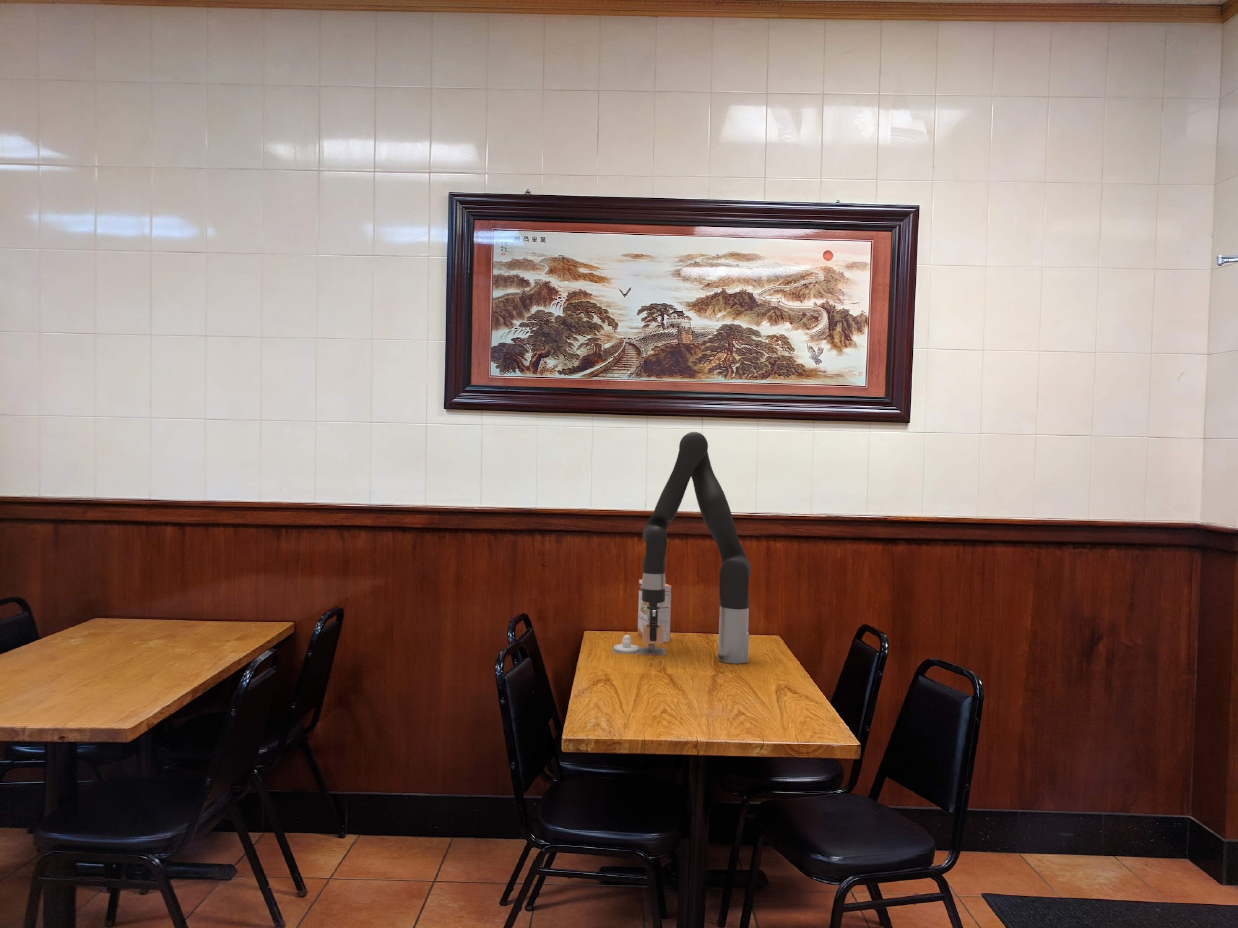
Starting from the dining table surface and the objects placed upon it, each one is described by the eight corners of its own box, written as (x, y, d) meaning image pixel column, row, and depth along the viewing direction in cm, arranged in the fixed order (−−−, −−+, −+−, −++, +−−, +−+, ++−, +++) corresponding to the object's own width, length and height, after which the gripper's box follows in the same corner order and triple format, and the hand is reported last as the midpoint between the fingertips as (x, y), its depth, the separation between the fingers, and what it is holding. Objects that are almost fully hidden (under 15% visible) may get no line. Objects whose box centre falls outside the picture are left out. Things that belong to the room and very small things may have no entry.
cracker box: (636, 637, 288) (638, 578, 287) (651, 636, 290) (653, 578, 290) (654, 647, 275) (656, 585, 274) (670, 645, 277) (672, 584, 277)
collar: (662, 639, 266) (662, 624, 266) (663, 643, 260) (663, 628, 260) (642, 638, 266) (642, 623, 266) (643, 643, 260) (643, 627, 260)
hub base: (664, 652, 268) (665, 633, 268) (665, 659, 259) (666, 639, 259) (612, 650, 268) (613, 631, 268) (612, 657, 259) (612, 637, 259)
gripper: (666, 590, 256) (665, 643, 256) (664, 583, 270) (663, 633, 270) (642, 590, 256) (641, 643, 256) (641, 582, 270) (640, 633, 270)
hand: (652, 638), depth 263 cm, fingers closed on collar, 6 cm apart
